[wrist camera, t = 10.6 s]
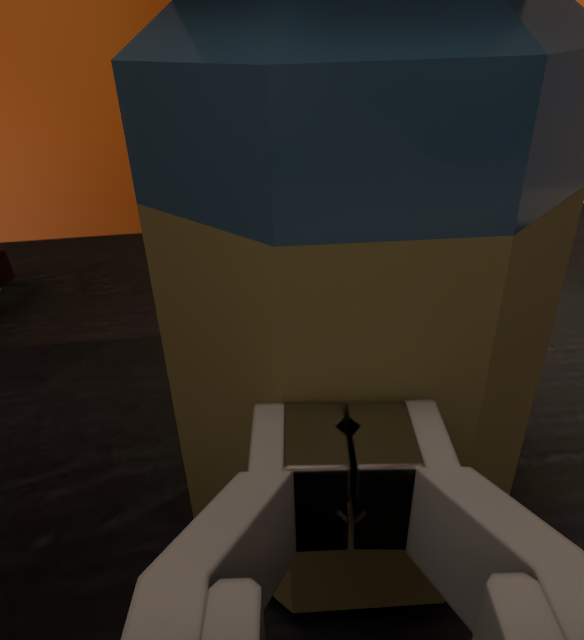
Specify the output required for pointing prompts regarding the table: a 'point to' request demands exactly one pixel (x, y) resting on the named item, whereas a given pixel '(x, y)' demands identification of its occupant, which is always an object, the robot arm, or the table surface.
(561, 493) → the table surface
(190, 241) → the jar
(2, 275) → the watch
